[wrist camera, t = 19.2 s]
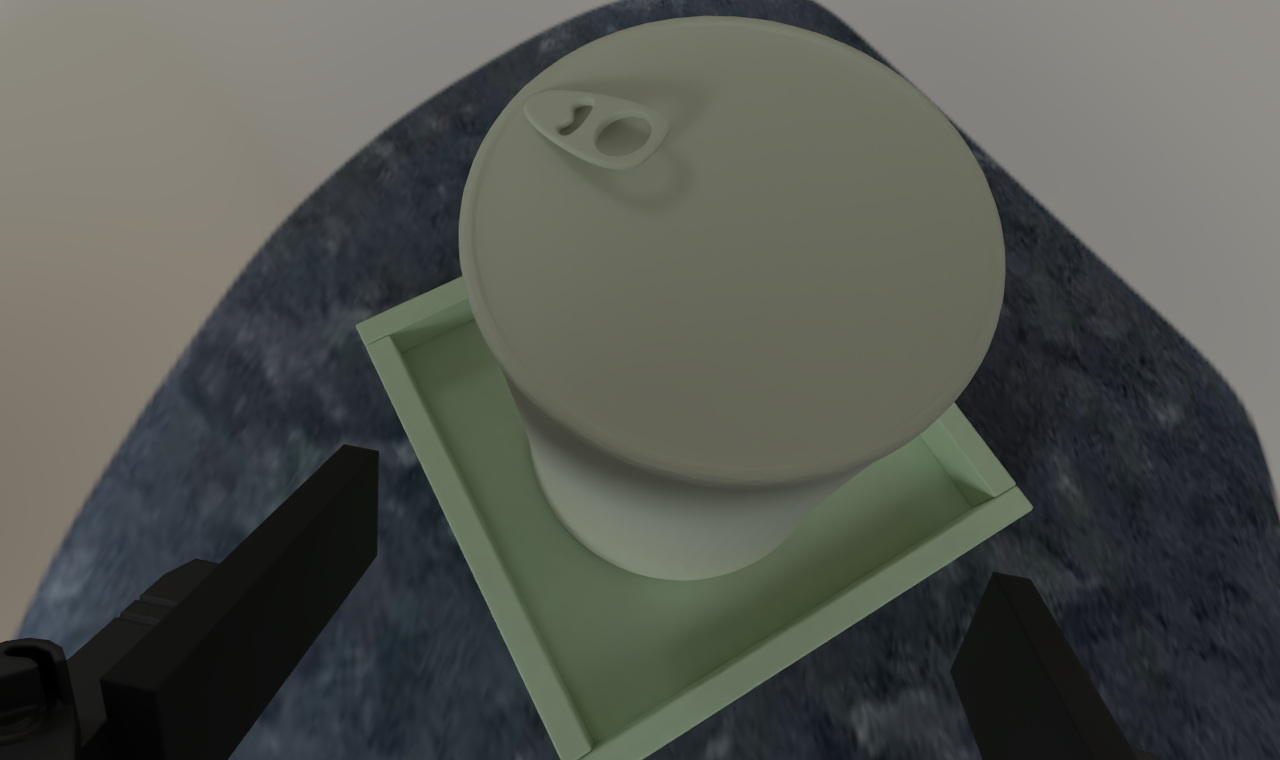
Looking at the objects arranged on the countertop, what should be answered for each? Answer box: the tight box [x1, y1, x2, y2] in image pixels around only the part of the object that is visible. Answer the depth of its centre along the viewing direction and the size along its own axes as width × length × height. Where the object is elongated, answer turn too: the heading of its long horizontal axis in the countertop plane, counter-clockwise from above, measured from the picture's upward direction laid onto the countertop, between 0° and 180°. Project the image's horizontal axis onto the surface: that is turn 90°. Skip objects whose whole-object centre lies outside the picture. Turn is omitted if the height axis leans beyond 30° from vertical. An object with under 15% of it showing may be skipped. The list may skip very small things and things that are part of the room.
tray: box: [356, 276, 1033, 760], centre depth 22 cm, size 15×15×2 cm
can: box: [459, 16, 1005, 581], centre depth 17 cm, size 9×9×12 cm
